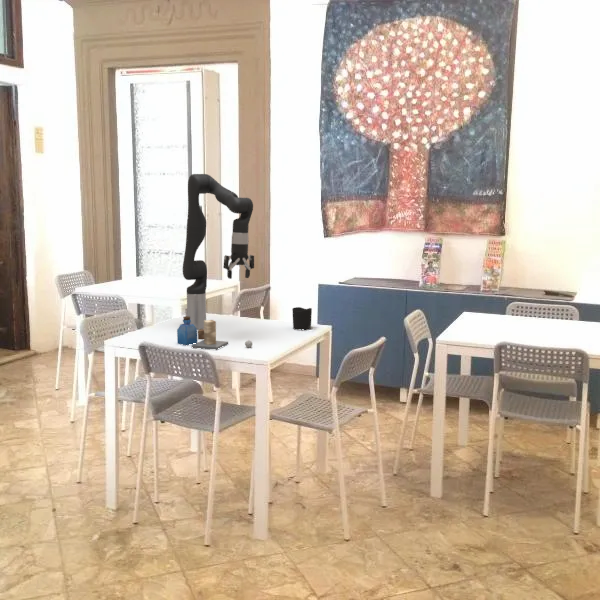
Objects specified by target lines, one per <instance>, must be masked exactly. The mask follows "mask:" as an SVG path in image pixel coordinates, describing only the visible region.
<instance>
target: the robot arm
mask: <svg viewBox="0 0 600 600" xmlns="http://www.w3.org/2000/svg"><path fill="white" fill-rule="evenodd" d="M201 194H205V195H206V194H211V195H214V197H215V200H217V202H218V203H220V204H221V205H223V206H226V207H227V209H228V210H229V211H230V212H232V213H234V214H240V215H239V217H237V218H236V219H234V220H232V221H233V222H232V235H231V247H230V252H231V255H227V254H225V255H224V256H223V257H224V258H223V269H225V270H226V271H227V273H226V274H227V275H226V276H227V278H228V279H229V280H230V279H231V280H232V278H233V277H232V276H233V268H234V267H235V266H240V265H241V266H244V267H245V271H244V272H245V277H244V278H246V279H249V277H250V276H251V275H250V274H251V270H253V269H254V268H255V255H253V254H249V239H250V238H249V224H250V221H251V218H252V214H253V211H254V203H253V200H252V199H251V198H249V197H239V196H238V194H237V193H235V192H234V191H232V190H230V189H228V188H226V187H224V186H223V185H221V183H219V182H218V181H217V179H215V178H213V176H211V175H210V174H206V173H193V174H191V175H189V178H188V180H187V221H186V238H185V247H184V248H185V251H184V256H183V263H182V275H183V276H182V277H183V278H184V279H185V280H186V281H194V282H193V283H192V284H191V285H189V286H187V287H186V308H185V316H189V317H190V319H191V322H190V324H194V326H195V327H196V329H197V330H199V329H204V321H205V320H207V301H206V300H207V293H206V292H207V283H208V282H207V281H208V279H207V278H208V267H207V264H206V262H205V261H204V260H200V259H199V260H197V259H196V260H195V257H196V253H197V250H198V249H199V247H200V246H201V244H202V243H203V241H204V240H205V237H206V235H207V219H206V215H205V214H204V213H203V210H202V207H201V205H200V195H201ZM230 260H231V261H230ZM247 260H249V261H247ZM248 262H249V263H248Z"/></svg>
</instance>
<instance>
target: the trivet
mask: <svg viewBox="0 0 600 600" xmlns="http://www.w3.org/2000/svg"><path fill="white" fill-rule="evenodd" d="M227 344H228V345H229V341H227V340H226V341H225V340H224V341H223V340H216V344H211V345H207V344H205V343H204V339H201V340H200V341H197V343H196V344H192V345H190V346H191V348H192V347H193V348H192V349H197V348H201V349H200V350H210V349H218V348H220V347H222V346H224V347H225V345H226V346H228V345H227ZM203 348H205V349H203ZM222 348H223V347H222ZM220 349H221V348H220ZM218 350H219V349H218Z"/></svg>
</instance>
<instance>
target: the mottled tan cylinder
mask: <svg viewBox="0 0 600 600" xmlns="http://www.w3.org/2000/svg"><path fill="white" fill-rule="evenodd" d="M203 329H204V339H203V340H204V343H205V344H207V345H211V344H216V341H217V321H216V320H214V319H206V320H205V321H204V328H203Z"/></svg>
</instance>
